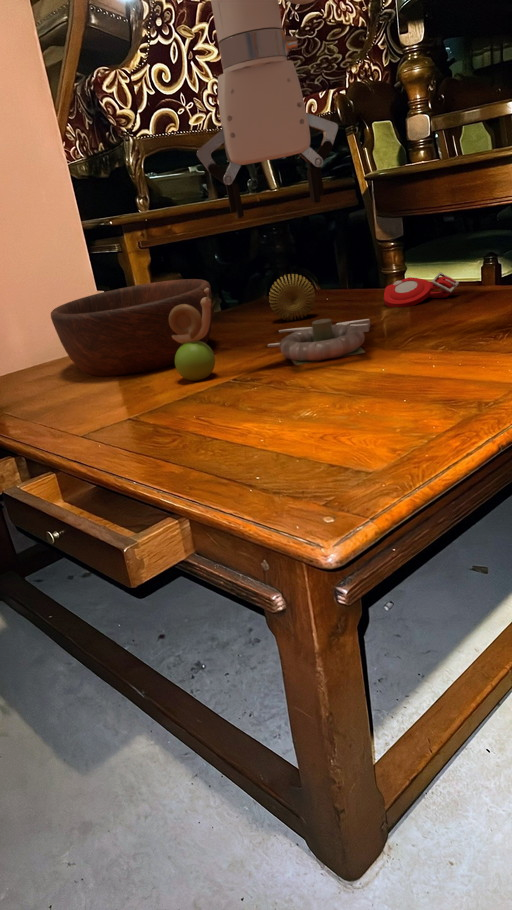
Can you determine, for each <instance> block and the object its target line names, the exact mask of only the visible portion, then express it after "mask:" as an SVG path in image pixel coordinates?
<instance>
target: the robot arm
mask: <svg viewBox="0 0 512 910" xmlns="http://www.w3.org/2000/svg"><path fill="white" fill-rule="evenodd" d="M285 1H286V2H288V3H290V4H293V5H307V4H310V3H313V2H316V0H285ZM210 4H211V10H212V15H213V21H214V28H215V33H216V39H217V45H218V50H219V55H220V61H221V67H222V72H223V73H221V74H219V75H218V77H217V99H218V100H217V101H218V111H219V118H220V126H221V130H219V132H217V133H216V134H215V135H214V136H212V137H211V138H210V139H209V140H207V142H205V143H204V144H203V145H202V146H201V147H200V148H199V149H197V151H196V156H197V158H198V160H199V161H200V163H201V164H202V165H203V166H204V168H205V169H206V170H207V172H208V173H209V174H210V175H211V176H213V177H214V178H215V179H217V180H218V181H220V182H221V183H222V184H223V185H225V190H226V195H227V200H228V206H229V210H230V213H235V214H236V218H237V219H243V217H245V213H244V208H243V202H242V197H241V192H240V191H241V190H240V185H239V184H238V182H237V181H236V176H237V174H238V172H239V170H240V169H241V167H242V166H245V165H246V166H247V165H251V164H257V163H261V162H267V161H271V160H277V159H281V158H287V157H291V156H294V155H298V156H299V157H300V158H301V159H302V160H304V161H305V162H306V163H307V166H308V168H307V170H306V177H307V183H308V184H307V185H308V192H309V196H310V202H311V203H312V204H313V203H314V204H318V203H321V195H324V194H325V188H324V182H323V174H322V173H323V172H322V166H323V165H324V162H325V160H326V159H327V157H328V156H329V154H330V153H331V151H332V149H333V146H334V143H335V139H336V137H337V133H338V130H339V124H338V123H337V122H334V121H331V120H329V119H326V118H324V117H323V118H322V117H321V116H317V115H314V114H312V113H308V112H307V110H306V104H305V99H304V96H303V92H302V87H301V84H300V79H299V76H298V72H297V70H296V67H295V64H294V61H293V60H291V59H289V60H288V58H287V57H288V54H289V53H291V52H292V51H293V50H294V51H295V50H297V49H298V46H299V45H298V44H299V43H298V37H297V36H296V35H293V36H292V35H287V34H286V33H285V30H284V29H283V23H282V18H281V10H280V2H279V0H210ZM310 128H311V129H315V130H317V131H320V132H322V134H323V137H322V141H321V143H320V145H319V147H318V148H317V150H316V151H315V150H314V149H313V148H312V147H311V132H310V131H311V130H310ZM222 144H223V145H224V150H225V151H224V152H225V156H226V158H227V161H228V162H229V164H228V166H227V168H226V170H224V169H223V168H221V166H219V164H216V162H215V161H214V159H213V158H212V153H213V152H214V151H215V150H217V149H218V148H219V147H221V146H222Z"/></svg>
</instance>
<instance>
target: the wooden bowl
mask: <svg viewBox="0 0 512 910" xmlns="http://www.w3.org/2000/svg"><path fill="white" fill-rule="evenodd" d="M206 288H209V292H208V293H209V299H210V300H211V307H210V311H211V316H210V326H209V330H208V332H207V334H206V335H205V336H204V337H203V338H202V339H200V340H199V341H201V342H203V343H205V344H207V345H208V341H209V339H210V335H211V332H212V324H213V323H212V322H213V304H212V303H213V301H212V289H211V284H210V282H209V281H207V280H205V279H197V278H186V279H185V278H184V279H183V278H182V279H171V280H164V281H156V282H148V283H142V284H137V285H131V286H126V287H121V288H116V289H112V290H107V291H102V292H99V293H95V294H91V295H86V296H84V297H80V298H77V299H74V300H71V301H68V302H65V303H63V304H60V305H59V306H57V307H54V308H53V309H52V310H51V311H50V319H51V322H52V325H53V327H54V329H55V332H56V334H57V336H58V338H59V341H60V343H61V345H62V347H63V349H64V350H65V353H66V354H67V356H68V357H69V359H70V360H71V361H72V362H73V364H74V365H75V366H76V367H77V368H78V369H79V370H80V371H81V372H83V373H85V374H87V375H89V376H94V377H120V376H128V375H136V374H141V373H146V372H150V371H155V370H159V369H164V368H167V367H171V366H175V355H176V352H177V350H178V349H179V348H180V346H182V345H183V344H182V343H179V342H177V341H175V340H174V339H173V338H172V335H178V334H177V333H175V332H174V331H173V330H172V329H171V327H170V325H169V314H170V312H171V310H172V309H173V308H174V307H175V306H177V305H180V304H187V305H191V306H193V307H194V308H195V309H197V310H198V312H199V313H200V315H201V318H202V306H201V300H202V298H204V297H207V294H208V293H205V292H204V290H205V289H206Z"/></svg>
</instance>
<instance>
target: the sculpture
mask: <svg viewBox="0 0 512 910" xmlns="http://www.w3.org/2000/svg"><path fill="white" fill-rule="evenodd" d="M279 278H280V279H279ZM279 278H277V279H276V281H274V282H273V284H272V285H271V287H270V290H269V292H268V299H269V300H268V302H269V303H270V304H269V306H270V310H272V311H273V313H274V314H275V315H276V316H277V317H278V318H279V319H282V320H284V321H287V322H289V321H291V322H292V321H293V320H294V321H297V320H299V321H300V320H301V319H304V318H305V317H307V316H308V315H309V314H310V313H311V312H310V311H313V308H314V306H315V304H316V301H315V300H316V292H315V289H314V286H313V284H312V283H311V281H309V279H307V278H306V277H305V276H302V274H298V273H288V274H284V275H283V276H280V277H279ZM307 314H308V315H307Z"/></svg>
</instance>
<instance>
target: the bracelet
mask: <svg viewBox="0 0 512 910" xmlns="http://www.w3.org/2000/svg"><path fill="white" fill-rule="evenodd" d="M332 330H333V338H334V339H329V340H324V341H318V342H314V336H313V328H307V329H303V330H300V331H296V332H290V333H289V334H287V335H286V336H285V337H284V338H282V339H281V340H280V342H279V343H280V344H279V346H278V347H279V351H280V353H281V354H282V356H283V357H284V358H285V359H287V360H291V361H292V360H297V361H316V362H319V361H318V360H321V361H326V360H325V359H327V360H331V359H330V358H332V359H337V358H336V357H338V358H341V357H340V356H343V355H346V354H348V353H351V352H354V351H356V350H357V349H358V348H359V347H362V345H363V344H364V343H365V340H366V336H365V332H362V331H361V330H360V329H359V328H357V327H356V326H351V325H341V324H338V325H335V324H332ZM343 357H344V356H343Z"/></svg>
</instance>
